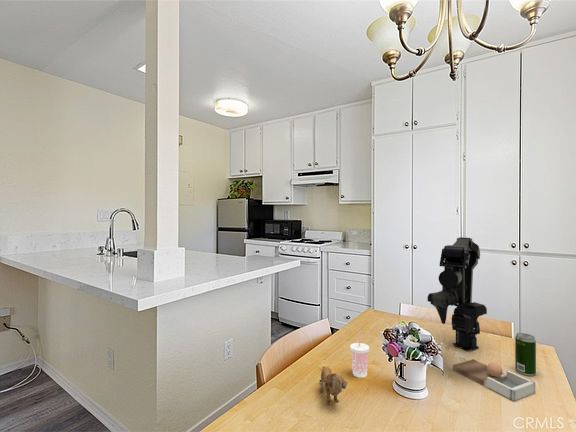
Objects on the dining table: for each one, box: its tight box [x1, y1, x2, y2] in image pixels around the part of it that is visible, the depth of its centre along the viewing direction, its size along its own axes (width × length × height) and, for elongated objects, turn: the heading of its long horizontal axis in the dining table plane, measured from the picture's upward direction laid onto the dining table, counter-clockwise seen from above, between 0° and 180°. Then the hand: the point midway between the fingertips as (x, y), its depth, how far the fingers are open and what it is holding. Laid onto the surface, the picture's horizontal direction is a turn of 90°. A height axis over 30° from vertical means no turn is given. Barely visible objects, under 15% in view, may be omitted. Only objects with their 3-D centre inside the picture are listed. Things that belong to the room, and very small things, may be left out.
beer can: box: [514, 332, 537, 377], centre depth 100 cm, size 5×5×12 cm
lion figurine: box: [319, 366, 349, 406], centre depth 89 cm, size 15×5×9 cm, turn 17°
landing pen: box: [486, 370, 536, 402], centre depth 91 cm, size 8×10×3 cm
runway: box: [452, 359, 507, 388], centre depth 99 cm, size 12×10×2 cm
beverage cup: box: [350, 331, 370, 379], centre depth 101 cm, size 6×6×14 cm
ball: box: [487, 362, 503, 377], centre depth 96 cm, size 4×4×4 cm
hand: (455, 328), depth 105 cm, fingers open, 9 cm apart
